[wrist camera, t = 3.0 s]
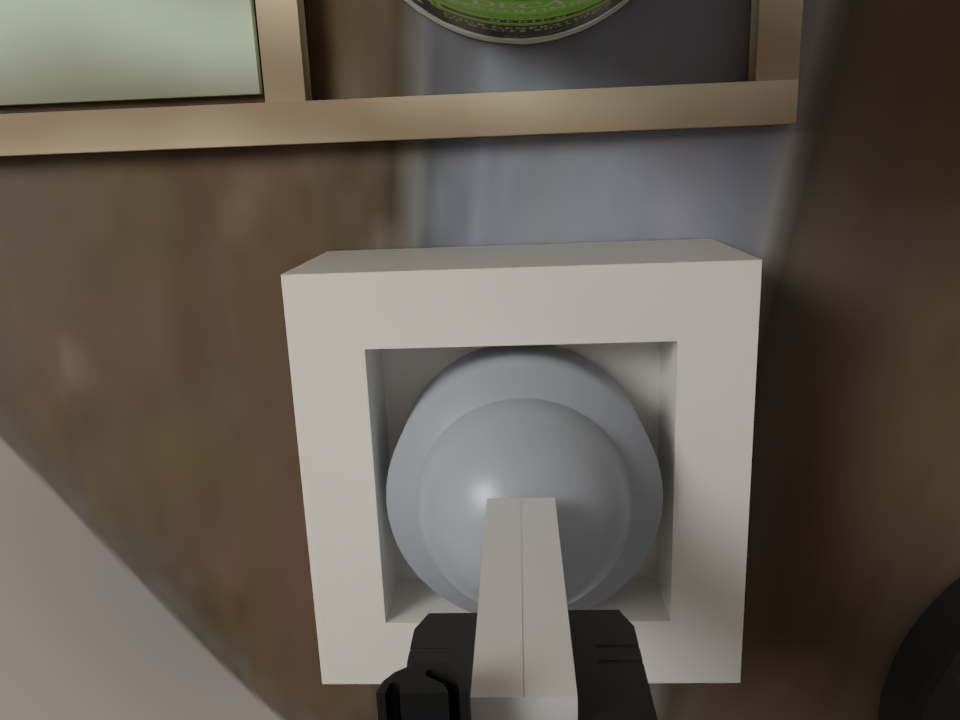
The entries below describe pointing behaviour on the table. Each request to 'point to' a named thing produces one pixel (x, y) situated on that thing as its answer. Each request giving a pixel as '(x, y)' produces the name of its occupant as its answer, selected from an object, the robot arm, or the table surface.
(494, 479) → the dome
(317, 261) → the dome base
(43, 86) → the frame
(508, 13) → the coffee can
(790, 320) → the table surface
